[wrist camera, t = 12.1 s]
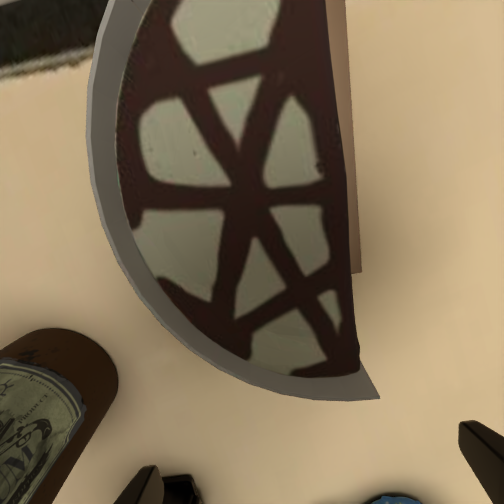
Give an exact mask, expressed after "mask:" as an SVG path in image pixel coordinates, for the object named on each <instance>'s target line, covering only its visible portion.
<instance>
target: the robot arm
mask: <svg viewBox="0 0 504 504" xmlns="http://www.w3.org/2000/svg"><path fill="white" fill-rule="evenodd" d="M458 444H459V448H460V450H461V452H462V454H463V456H464V457H465V459H466V460H467V462H468V464H469V465H470V467H471V469H472V470H473V472H474V473H475V475H476V477H477V478H478V480H479V482H480V483H481V485H482V486H483V488H484V490H485V491H486V493H487V494H488V496H489V498H490V499H491V501H492V503H493V504H504V437H503V436H502V435H500V434H498V433H497V432H495V431H493V430H491V429H490V428H488V427H486V426H485V425H483V424H481V423H480V422H478V421H475V420H469V421H462V422H460V423H459V435H458ZM114 504H202V503H201V499H200V497H199V496H198V494H197V491H196V488H195V484H194V481H193V478H192V477H190V476H182V477H174V478H166V479H162V478H161V475H160V472H159V469H158V467H157V466H156V465H150V466H144V467H142V468H141V469H140V470H139V472H138V473H137V474H136V475H135V477H134V478H133V479H132V481H131V482H130V483H129V484H128V486H127V487H126V488H125V490H124V491H123V492H122V493H121V495H120V496H119V497H118V498H117V500H116V501H115V502H114Z"/></svg>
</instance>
